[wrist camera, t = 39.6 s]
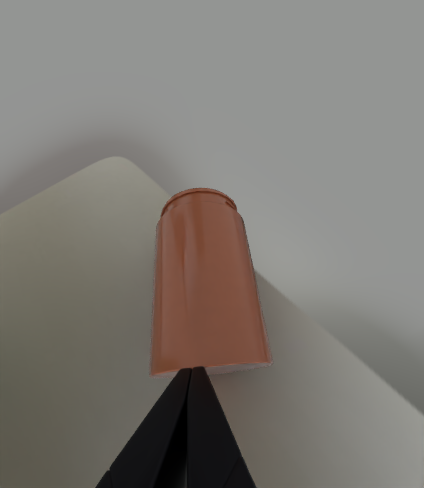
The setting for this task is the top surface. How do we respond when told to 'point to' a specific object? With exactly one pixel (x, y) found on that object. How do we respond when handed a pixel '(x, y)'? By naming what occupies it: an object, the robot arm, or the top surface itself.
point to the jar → (205, 290)
